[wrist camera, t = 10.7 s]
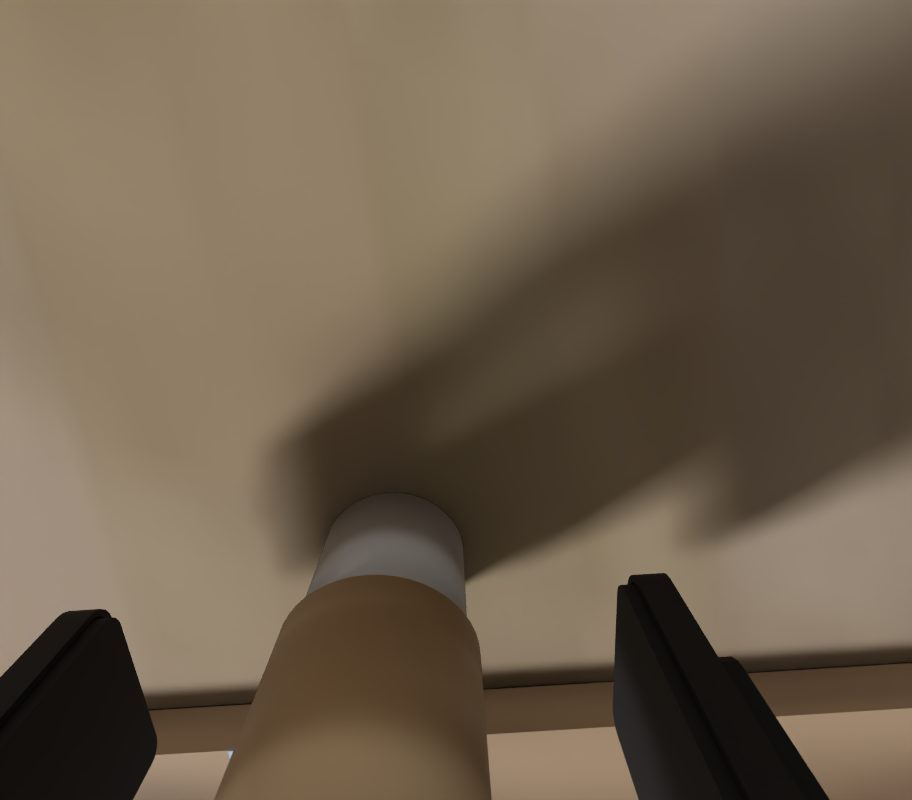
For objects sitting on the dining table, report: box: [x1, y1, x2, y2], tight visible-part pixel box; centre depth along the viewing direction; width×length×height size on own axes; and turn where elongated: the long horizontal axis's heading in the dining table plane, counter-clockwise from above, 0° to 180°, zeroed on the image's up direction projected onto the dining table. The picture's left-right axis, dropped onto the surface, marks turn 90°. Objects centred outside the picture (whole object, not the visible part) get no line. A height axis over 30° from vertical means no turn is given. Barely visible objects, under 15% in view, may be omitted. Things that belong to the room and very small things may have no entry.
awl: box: [214, 493, 492, 800], centre depth 8 cm, size 3×3×8 cm
